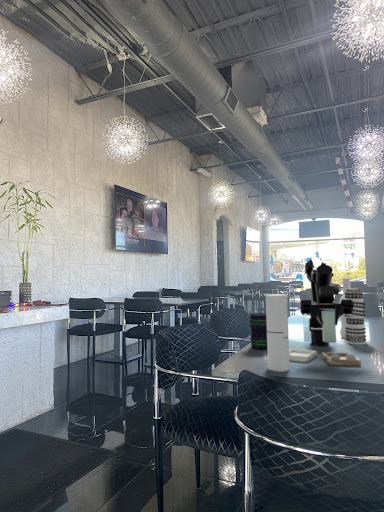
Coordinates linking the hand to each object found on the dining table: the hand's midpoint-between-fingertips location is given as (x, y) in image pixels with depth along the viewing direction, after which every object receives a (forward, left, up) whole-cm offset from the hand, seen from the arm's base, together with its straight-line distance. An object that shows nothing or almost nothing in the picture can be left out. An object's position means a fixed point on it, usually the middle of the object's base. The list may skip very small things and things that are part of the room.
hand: (329, 324), depth 127 cm
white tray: (-12, -2, -13) cm, 18 cm away
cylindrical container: (-8, -21, -14) cm, 26 cm away
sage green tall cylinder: (-1, +1, -6) cm, 6 cm away
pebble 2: (+6, +2, -13) cm, 14 cm away
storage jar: (-33, +3, -14) cm, 36 cm away
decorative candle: (-9, +42, -14) cm, 45 cm away
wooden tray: (+2, +3, -13) cm, 14 cm away
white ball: (+3, -1, -13) cm, 13 cm away
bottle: (-17, +53, -14) cm, 58 cm away
